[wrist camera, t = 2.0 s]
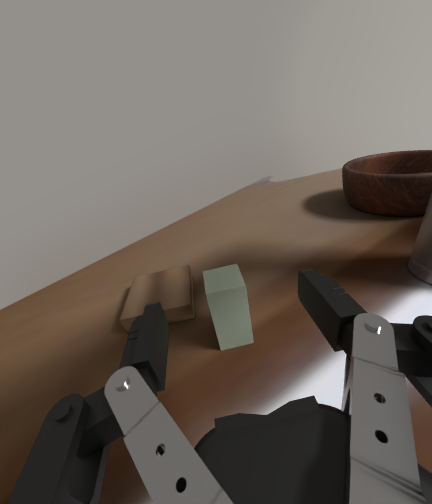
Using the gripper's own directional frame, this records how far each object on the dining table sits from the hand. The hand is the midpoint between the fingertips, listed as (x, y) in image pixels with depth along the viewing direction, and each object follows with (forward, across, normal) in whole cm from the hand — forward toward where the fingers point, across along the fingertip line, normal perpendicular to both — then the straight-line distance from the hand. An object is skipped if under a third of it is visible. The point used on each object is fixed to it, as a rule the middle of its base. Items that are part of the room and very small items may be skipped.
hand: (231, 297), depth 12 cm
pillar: (+11, 0, +17) cm, 20 cm away
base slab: (+21, +11, +17) cm, 29 cm away
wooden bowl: (+40, -49, +16) cm, 66 cm away
